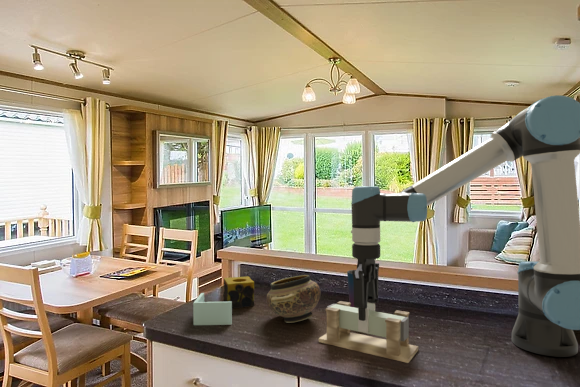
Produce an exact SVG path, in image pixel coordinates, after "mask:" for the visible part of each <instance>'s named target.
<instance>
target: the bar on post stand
mask: <svg viewBox="0 0 580 387" xmlns="http://www.w3.org/2000/svg"><path fill="white" fill-rule="evenodd" d="M336 304H338V305H344V306H349V307H350V305H351V303H349V301H342V300H339V301H338V302H336ZM327 307H328V306H327ZM327 307H326V308H325V312H326V333H325V334H323V335H321V336H320V337H319V338H318V343H322V344H326V345H330V346H334V347H339V348H343V349H348V350H351V351H355V352H358V353H364V354H368V355H371V356H372V355H373V356H376V357H381V358H385V359H389V360H394V361H398V362H403V363H406V364H409V363H410V362H411V360H412V359H413V358H414V357H415V355H416V354H417V353H418V352H419V346H418V345H413V344H410V341H409V340H410V338H409V337H410V336H409V337H408V338H407V339H406V340H405V341H404V342H403V341H400V323H401V320H400V319H394V318H387V319H386V320H385V322H386V339H385V338H381V337H377V336H371V335H366V334H363V333H362V334H360V333H358V332H357V333H356V332H351V330H349V329H344V328H340V327H339V312H340V309H337V308H332V307H328V308H327ZM393 315H398V316H404V317H409V315H410V312H409V311H404V310H403V311H402V310H397V309H396V310H395V311H394V312H393Z"/></svg>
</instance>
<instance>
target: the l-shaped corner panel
mask: <svg viewBox="0 0 580 387" xmlns="http://www.w3.org/2000/svg"><path fill="white" fill-rule="evenodd" d="M192 306H193V308H192V309H193V310H192V311H193V312H192V315H193V321H192V322H193V326H220V325H221V326H225V325H226V326H227V325H229V326H230V325H233V315H232V314H233V308H232V301H229V302H224V301H205V292H201V293H200V294H199V296H197V298H196V299H195V300H194V302H193V303H192Z"/></svg>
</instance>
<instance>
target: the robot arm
mask: <svg viewBox="0 0 580 387" xmlns="http://www.w3.org/2000/svg"><path fill="white" fill-rule="evenodd" d="M579 155H580V102H579V101H577V100H576V99H574V98H573V97H570V96H567V95H551V96H547V97H544V98H540V99H538V100H536V101H534V102H533V103H532V104H531V105H530V106H528V107H526V108H524V109H523V110H520V112H518V114H516V115H515V116H514V117H513V118H511V119H510V120H509V121H508V122H507V123H505V124H504V125H503V126H501V127H500V128H498V129H497V130H495V131H493V132H492V133H491V134H490V138H489V139H487V140H485V141H484V142H482V143H481V144H478V145H477V146H475V147H473V148H472V149H470V150H468V151H467V152H465V153H464V154H461V155H459V157H457V158H455V159H454V160H452V161H450V162H448V163H447V164H445V165H443V166H442V167H440V168H438V169H437V170H435V171H433V172H431V173H430V174H428V175H426V176H425V177H423V178H421V179H420V180H418V181H416V182H415V183H413V184H412V185H410V186H408V187H407V188H404V189H403V190H402V191H400V192H397V193H396V192H395V193H394V192H393V193H384V192H381V190H380V186H375V185H374V186H372V185H371V186H369V185H368V186H355V187H353V188H352V191H351V203H350V204H351V205H350V206H351V230H350V233H351V234H352V236H351V239H352V240H351V241H352V245H351V255H352V258H354V259H357V263H356V269H352V270H353V271H352V275H353V284H354V307H358V331H360V332H359V333H363V332H365V333H364V334H367V333H369V310H371V311H376V304H379V302H380V300H379V272H380V271H379V269H380V263H379V262H376V260H377V259H379V258H381V245H380V242H381V222H403V223H404V222H406V223H407V222H409V223H417V222H425V221H426V220H427V217H428V206H430V205H432V204H434V203H435V202H437V201H439V200H440V199H442V198H445V197H446V196H447V195H449V194H451V193H452V192H455V191H457V190H458V189H459V188H462V187H463V186H465V185H467V184H470V182H472V181H474V180H475V179H477V178H479V177H481V176H482V175H484V174H486V173H488V172H489V171H491V170H494V169H495V168H496V167H498V166H500V165H502V164H503V163H505V162H511V163H513V162H514V161H516V160H518V159H521V158H522V157H523V159H524V160H525V161H527V162H529V164H530V166H531V175H532V186H533V187H532V188H533V198H534V209H535V218H536V220H535V221H536V229H537V230H536V232H537V241H538V251H539V261H537V260H536V261H532V260H531V261H526V260H525V261H520V262H519V264H518V268H517V269H518V271H517V281H518V282H517V284H518V285H517V287H518V288H517V289H518V298H517V300H518V315H517V317H516V320H515V323H514V324H513V328H512V331H511V342H512V344H513V345H515V346H516V347H518V348H520V349H522V350H525V351H527V352H530V353H534V354H538V355H542V356H548V357H555V358H556V357H558V358H564V357H565V358H567V357H573V356H575V355H577V354H578V353H579V343H578V340H577V338H576V335H575V332H574V331H580V210H579V209H580V208H579V198H578V187H577V178H576V177H577V176H576V165H575V159H576V158H577V157H578V156H579ZM358 331H357V332H358Z"/></svg>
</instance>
